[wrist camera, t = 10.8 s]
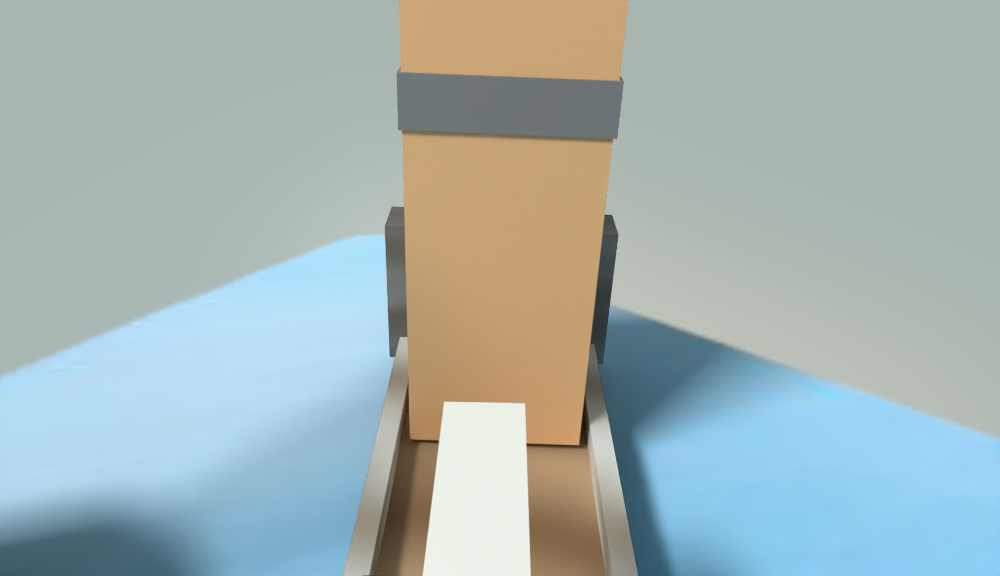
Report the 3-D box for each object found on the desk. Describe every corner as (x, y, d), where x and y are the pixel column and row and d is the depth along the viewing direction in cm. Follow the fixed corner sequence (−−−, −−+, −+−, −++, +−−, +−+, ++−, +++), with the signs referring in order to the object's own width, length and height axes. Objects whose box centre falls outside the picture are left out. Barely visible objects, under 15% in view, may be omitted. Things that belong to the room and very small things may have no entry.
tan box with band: (582, 447, 27) (638, -46, 19) (406, 440, 26) (393, -57, 19) (570, 364, 31) (612, -60, 24) (421, 359, 31) (415, -68, 24)
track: (738, 1139, 13) (844, 943, 10) (215, 1125, 13) (133, 923, 9) (595, 361, 34) (611, 214, 31) (396, 354, 34) (391, 206, 31)
